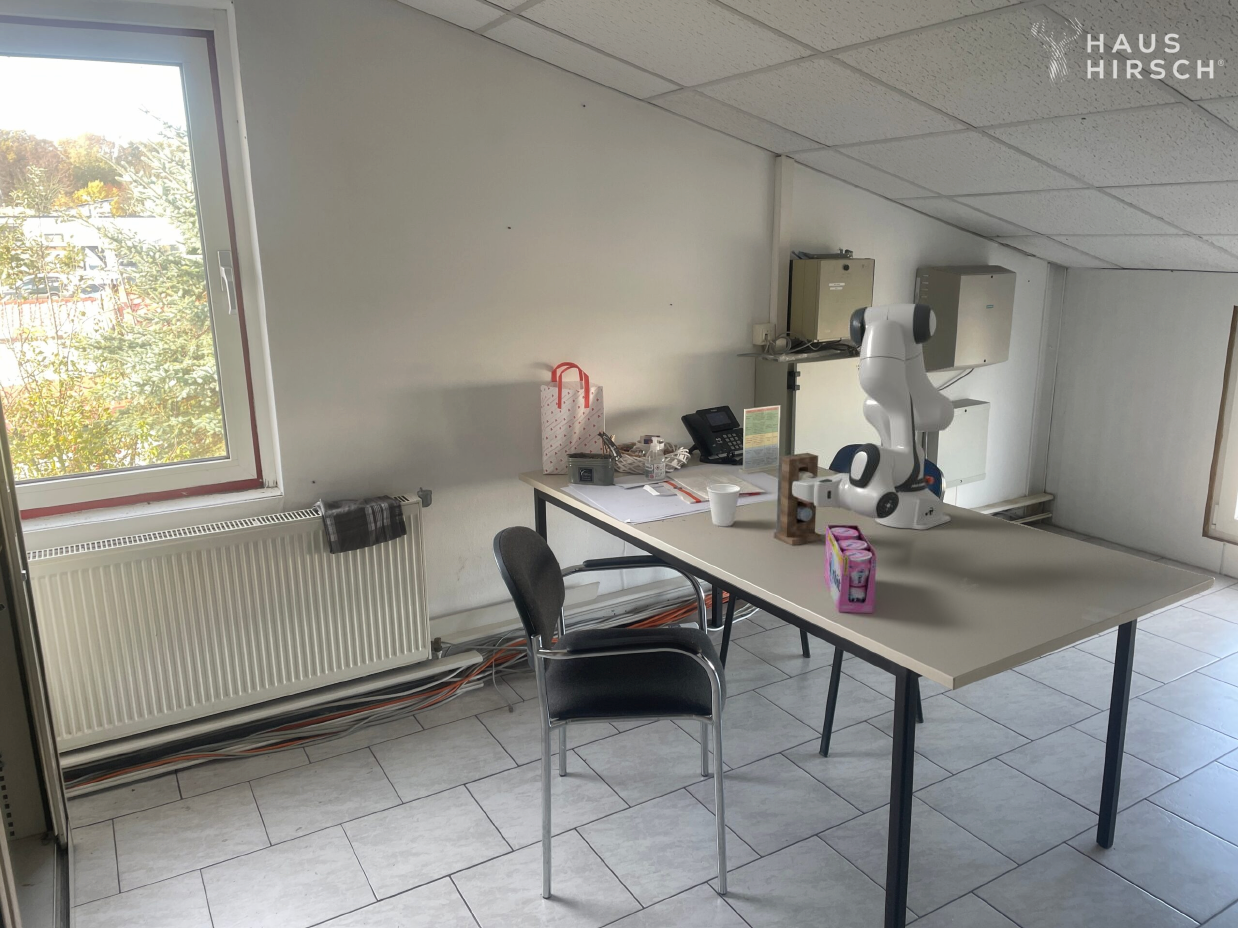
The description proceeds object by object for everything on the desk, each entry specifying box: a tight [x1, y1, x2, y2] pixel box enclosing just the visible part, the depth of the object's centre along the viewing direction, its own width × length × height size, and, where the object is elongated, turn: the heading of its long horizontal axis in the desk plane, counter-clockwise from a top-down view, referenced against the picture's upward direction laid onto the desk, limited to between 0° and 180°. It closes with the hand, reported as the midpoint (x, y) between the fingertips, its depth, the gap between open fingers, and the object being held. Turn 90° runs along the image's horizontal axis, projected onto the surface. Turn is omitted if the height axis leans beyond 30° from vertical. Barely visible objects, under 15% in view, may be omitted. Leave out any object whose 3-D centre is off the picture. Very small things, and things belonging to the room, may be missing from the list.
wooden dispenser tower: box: [773, 452, 822, 546], centre depth 239 cm, size 10×8×24 cm
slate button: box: [797, 506, 812, 521], centre depth 238 cm, size 4×4×4 cm
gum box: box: [824, 524, 877, 614], centre depth 199 cm, size 24×8×14 cm, turn 175°
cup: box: [706, 483, 742, 528], centre depth 255 cm, size 10×10×11 cm
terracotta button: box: [797, 498, 810, 504], centre depth 237 cm, size 4×4×4 cm
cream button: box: [798, 471, 813, 481], centre depth 236 cm, size 4×4×4 cm
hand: (808, 479), depth 234 cm, fingers closed, pressing on cream button
